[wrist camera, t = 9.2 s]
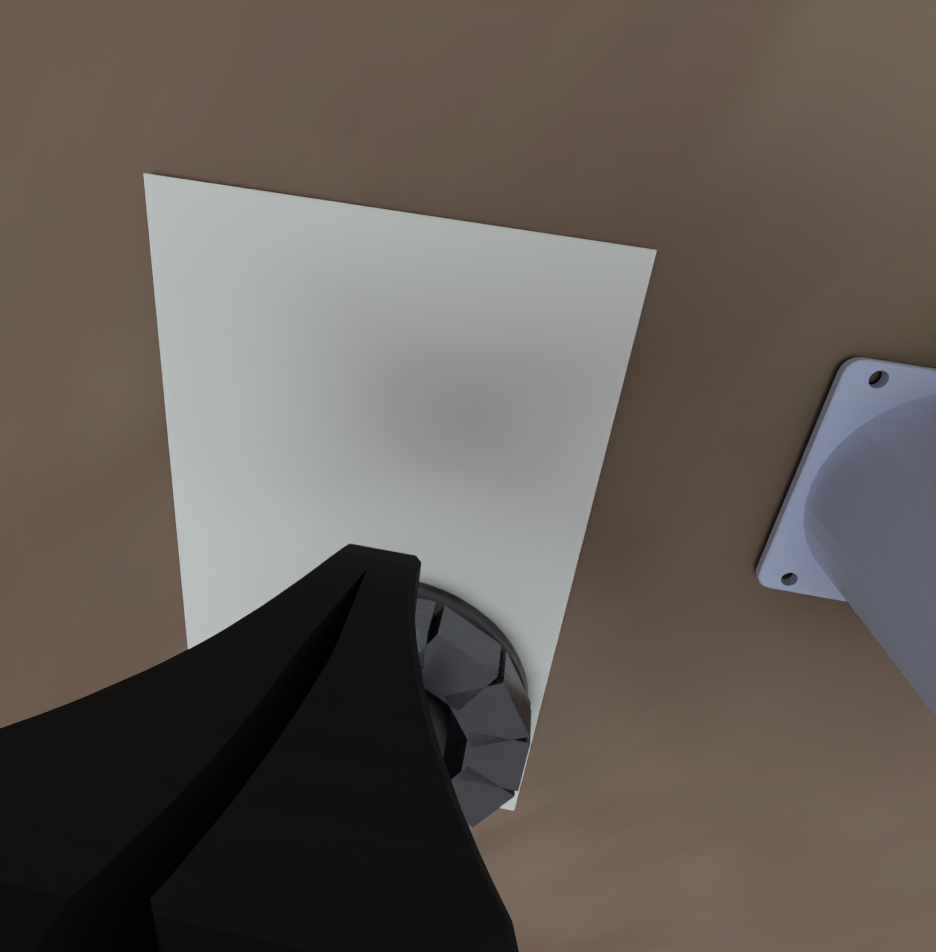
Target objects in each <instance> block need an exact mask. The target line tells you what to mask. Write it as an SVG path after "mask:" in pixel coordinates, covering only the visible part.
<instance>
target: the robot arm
mask: <svg viewBox="0 0 936 952" xmlns="http://www.w3.org/2000/svg"><path fill="white" fill-rule="evenodd" d="M876 371H881V372H882V376H881V378H880V380H879V381H878V382H877V383H875V384H872V385H869V378H870V376H871V375H872V374H873V373H875V372H876ZM420 570H421V561H420V560H419V559H418V557H417V556H416V555H410V554H405V553H399V552H394V551H388V550H383V549H377V548H372V547H366V546H361V545H356V544H350V543H349V544H348V545H346V546H345V547H343V548H342V549H340V550H339V551H338V552H336V553H335V554H333V555H332V556H331V557H329V558H328V559H327V560H325V561H324V562H323V563H321V564H320V565H319V566H317V567H316V568H315V569H313V570H312V571H311V572H309V573H308V574H306V575H305V576H304V577H302V578H301V579H300V580H298V581H297V582H295V583H294V584H293V585H291V586H290V587H288V588H287V589H285V590H284V591H283V592H281V593H280V594H278V595H277V596H275V597H274V598H272V599H271V600H270V601H268V602H267V603H265V604H264V605H262V606H261V607H259V608H258V609H256V610H254V611H253V612H251V613H250V614H248V615H246V616H245V617H243V618H242V619H240V620H238V621H237V622H235V623H234V624H232V625H230V626H229V627H227V628H226V629H224V630H222V631H221V632H219V633H217V634H216V635H214V636H212V637H210V638H208V639H207V640H205V641H203V642H201V643H199V644H198V645H196V646H194V647H192V648H190V649H188V650H186V651H184V652H182V653H180V654H178V655H176V656H174V657H172V658H170V659H168V660H166V661H164V662H162V663H160V664H158V665H156V666H154V667H152V668H150V669H148V670H146V671H143V672H141V673H139V674H136V675H134V676H132V677H130V678H127V679H125V680H123V681H120V682H118V683H116V684H113V685H111V686H109V687H107V688H104V689H102V690H100V691H97V692H95V693H93V694H90V695H88V696H86V697H84V698H81V699H79V700H76V701H74V702H71V703H69V704H66V705H63V706H61V707H58V708H55V709H53V710H50V711H48V712H45V713H42V714H40V715H37V716H34V717H32V718H29V719H26V720H23V721H20V722H17V723H14V724H12V725H9V726H6V727H3V728H0V952H519V951H518V946H517V942H516V937H515V932H514V927H513V923H512V920H511V918H510V916H509V914H508V912H507V910H506V908H505V906H504V904H503V902H502V900H501V898H500V896H499V893H498V891H497V889H496V887H495V885H494V883H493V881H492V879H491V877H490V874H489V872H488V870H487V868H486V866H485V864H484V861H483V859H482V857H481V855H480V853H479V850H478V848H477V846H476V843H475V841H474V838H473V836H472V834H471V831H470V829H469V826H468V824H467V822H466V819H465V817H464V814H463V812H462V809H461V807H460V804H459V801H458V798H457V795H456V793H455V790H454V787H453V784H452V781H451V779H450V776H449V773H448V770H447V767H446V765H445V762H444V759H443V756H442V753H441V750H440V746H439V743H438V739H437V736H436V733H435V729H434V726H433V722H432V718H431V714H430V710H429V706H428V702H427V698H426V693H425V689H424V683H423V678H422V673H421V667H420V661H419V655H418V647H417V639H416V626H415V613H416V604H417V596H418V587H419V579H420ZM787 573H793V575H792V576H791V577H790V578H788V579H781V578H782V576H783V575H785V574H787ZM756 576H757V578H758V580H759V582H760V583H761V584H762V585H763V586H765V587H768V588H773V589H778V590H784V591H789V592H795V593H800V594H806V595H812V596H817V597H823V598H828V599H834V600H839V601H845V602H848V603H849V605H850V606H851V607H852V609H853V610H854V611H855V613H856V614H857V615H858V616H859V618H860V619H861V620H862V622H863V623H864V624H865V626H866V627H867V628H868V630H869V631H870V632H871V634H872V635H873V636H874V637H875V639H876V640H877V641H878V643H879V644H880V645H881V647H882V648H883V649H884V651H885V652H886V653H887V655H888V656H889V657H890V658H891V660H892V661H893V662H894V664H895V665H896V666H897V668H898V669H899V670H900V672H901V673H902V674H903V676H904V677H905V678H906V679H907V681H908V682H909V683H910V685H911V686H912V687H913V689H914V690H915V691H916V693H917V694H918V695H919V697H920V698H921V699H922V700H923V702H924V703H925V704H926V706H927V707H928V708H929V710H930V711H931V712H932V714H933V715H934V716H935V718H936V368H930V367H923V366H917V365H911V364H904V363H898V362H891V361H885V360H879V359H872V358H866V357H854V358H852V359H849V360H847V361H846V362H845V363H843V364H842V365H841V367H840V368H839V370H838V372H837V374H836V377H835V379H834V381H833V384H832V386H831V389H830V391H829V394H828V396H827V398H826V401H825V403H824V406H823V408H822V410H821V413H820V415H819V418H818V420H817V423H816V425H815V427H814V430H813V432H812V435H811V437H810V439H809V442H808V444H807V447H806V449H805V452H804V454H803V456H802V459H801V461H800V464H799V466H798V468H797V471H796V473H795V476H794V478H793V481H792V483H791V485H790V488H789V490H788V493H787V495H786V497H785V500H784V502H783V505H782V507H781V510H780V512H779V514H778V517H777V519H776V522H775V524H774V526H773V529H772V531H771V534H770V536H769V539H768V541H767V543H766V546H765V548H764V551H763V553H762V556H761V558H760V560H759V563H758V565H757V568H756Z"/></svg>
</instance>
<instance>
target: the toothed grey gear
mask: <svg viewBox="0 0 936 952" xmlns="http://www.w3.org/2000/svg"><path fill="white" fill-rule="evenodd" d="M415 626H416V639H417V647H418V655H419V661H420V667H421V673H422V678H423V683H424V689H426V690H427V691H429V692H430V693H432V694H433V695H435V696H436V697H438V698H439V699H441V700H442V701H444V702H445V703H447V704H448V705H449V706H450V708H451V710H452V714H451V720H450V725H449V730H448V735H447V740H446V745H445V750H444V756H443V759H444V762H445V765H446V767H447V770H448V773H449V776H450V779H451V781H452V784H453V787H454V790H455V793H456V795H457V798H458V801H459V804H460V807H461V809H462V812H463V814H464V817H465V819H466V822H467V824H469V825H470V826H472V827H474V826H475V825H477V824H478V823H479V822H481V821H482V820H483V819H485V818H486V817H487V816H489V815H490V814H491V813H493V812H494V811H495V810H497V809H498V808H500V807H501V806H502V805H504V804H505V803H506V802H508V801H509V800H510V799H512V798H513V797H514V796H515V791H518V790H519V786H520V782H521V778H522V774H523V770H524V766H525V762H526V758H527V754H528V750H529V747H530V737H531V709H530V707H531V702H530V700H529V698H528V685H527V680H526V674H525V671H524V668H523V666H522V663H521V660H520V658H519V656H518V654H517V653H516V651H515V649H514V647H513V645H512V644H511V643H510V641H509V640H508V639H507V637H506V636H505V635H504V633H503V632H502V631H501V630H500V629H499V628H498V627H497V626H496V625H495V624H494V623H493V622H492V621H491V620H490V619H489V618H488V617H487V616H485V615H484V614H483V613H482V612H480V611H479V610H478V609H477V608H475V607H474V606H472V605H470V604H469V603H467V602H466V601H464V600H463V599H461V598H459V597H457V596H455V595H453V594H451V593H449V592H447V591H444V590H442V589H439V588H436V587H434V586H431V585H428V584H425V583H421V582H419V587H418V596H417V604H416V613H415Z"/></svg>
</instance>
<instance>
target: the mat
mask: <svg viewBox="0 0 936 952" xmlns="http://www.w3.org/2000/svg"><path fill="white" fill-rule="evenodd" d="M143 175H144V186H145V196H146V207H147V218H148V228H149V239H150V250H151V260H152V271H153V282H154V292H155V303H156V314H157V324H158V335H159V345H160V356H161V367H162V377H163V388H164V399H165V409H166V420H167V431H168V441H169V452H170V463H171V473H172V484H173V495H174V505H175V516H176V527H177V537H178V548H179V559H180V569H181V580H182V591H183V601H184V612H185V623H186V633H187V644H188V649H190V648H192V647H194V646H196V645H198V644H199V643H201V642H203V641H205V640H207V639H208V638H210V637H212V636H214V635H216V634H217V633H219V632H221V631H222V630H224V629H226V628H227V627H229V626H230V625H232V624H234V623H235V622H237V621H238V620H240V619H242V618H243V617H245V616H246V615H248V614H250V613H251V612H253V611H254V610H256V609H258V608H259V607H261V606H262V605H264V604H265V603H267V602H268V601H270V600H271V599H272V598H274V597H275V596H277V595H278V594H280V593H281V592H283V591H284V590H285V589H287V588H288V587H290V586H291V585H293V584H294V583H295V582H297V581H298V580H300V579H301V578H302V577H304V576H305V575H306V574H308V573H309V572H311V571H312V570H313V569H315V568H316V567H317V566H319V565H320V564H321V563H323V562H324V561H325V560H327V559H328V558H329V557H331V556H332V555H333V554H335V553H336V552H338V551H339V550H340V549H342V548H343V547H345V546H346V545H348V544H349V543H350V544H356V545H361V546H366V547H372V548H377V549H383V550H388V551H394V552H399V553H405V554H410V555H416V556H417V557H418V559H419V560H420V561H421V570H420V579H419V582H421V583H425V584H428V585H431V586H434V587H436V588H439V589H442V590H444V591H447V592H449V593H451V594H453V595H455V596H457V597H459V598H461V599H463V600H464V601H466V602H467V603H469V604H470V605H472V606H474V607H475V608H477V609H478V610H479V611H480V612H482V613H483V614H484V615H485V616H487V617H488V618H489V619H490V620H491V621H492V622H493V623H494V624H495V625H496V626H497V627H498V628H499V629H500V630H501V631H502V632H503V633H504V635H505V636H506V637H507V639H508V640H509V641H510V643H511V644H512V645H513V647H514V649H515V651H516V653H517V654H518V656H519V658H520V660H521V663H522V666H523V668H524V671H525V674H526V680H527V685H528V698H529V700H530V702H531V707H530V709H531V737H530V747H531V743H532V739H533V735H534V731H535V727H536V723H537V719H538V715H539V711H540V707H541V703H542V700H543V696H544V692H545V688H546V684H547V680H548V676H549V672H550V668H551V664H552V660H553V656H554V652H555V648H556V645H557V641H558V637H559V633H560V629H561V625H562V621H563V617H564V613H565V609H566V605H567V601H568V597H569V594H570V590H571V586H572V582H573V578H574V574H575V570H576V566H577V562H578V558H579V554H580V550H581V546H582V543H583V539H584V535H585V531H586V527H587V523H588V519H589V515H590V511H591V507H592V503H593V499H594V495H595V492H596V488H597V484H598V480H599V476H600V472H601V468H602V464H603V460H604V456H605V452H606V448H607V444H608V440H609V437H610V433H611V429H612V425H613V421H614V417H615V413H616V409H617V405H618V401H619V397H620V393H621V389H622V386H623V382H624V378H625V374H626V370H627V366H628V362H629V358H630V354H631V350H632V346H633V342H634V338H635V335H636V331H637V327H638V323H639V319H640V315H641V311H642V307H643V303H644V299H645V295H646V291H647V287H648V284H649V280H650V276H651V272H652V268H653V264H654V260H655V256H656V252H657V250H655V249H649V248H642V247H635V246H629V245H622V244H615V243H609V242H602V241H595V240H589V239H582V238H575V237H569V236H562V235H555V234H549V233H542V232H535V231H529V230H522V229H515V228H509V227H502V226H495V225H489V224H482V223H475V222H469V221H462V220H455V219H449V218H442V217H435V216H429V215H422V214H415V213H409V212H402V211H395V210H389V209H382V208H375V207H369V206H362V205H355V204H349V203H342V202H335V201H329V200H322V199H315V198H309V197H302V196H295V195H289V194H282V193H275V192H269V191H262V190H255V189H249V188H242V187H235V186H229V185H222V184H215V183H209V182H202V181H195V180H189V179H182V178H175V177H169V176H162V175H155V174H147V173H143ZM530 747H529V750H528V754H529V751H530ZM528 754H527V758H528ZM527 758H526V762H527ZM526 762H525V766H526ZM525 766H524V770H525ZM524 770H523V774H524ZM523 774H522V778H523ZM522 778H521V782H522ZM521 782H520V786H521ZM520 786H519V790H520ZM519 790H518V791H515V796H514V797H513V798H512V799H510V800H509V801H508V802H506V803H505V804H504V805H502V806H501V807H500V808H503V809H508V810H513V811H514V809H515V805H516V802H517V798H518V794H519Z"/></svg>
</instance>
